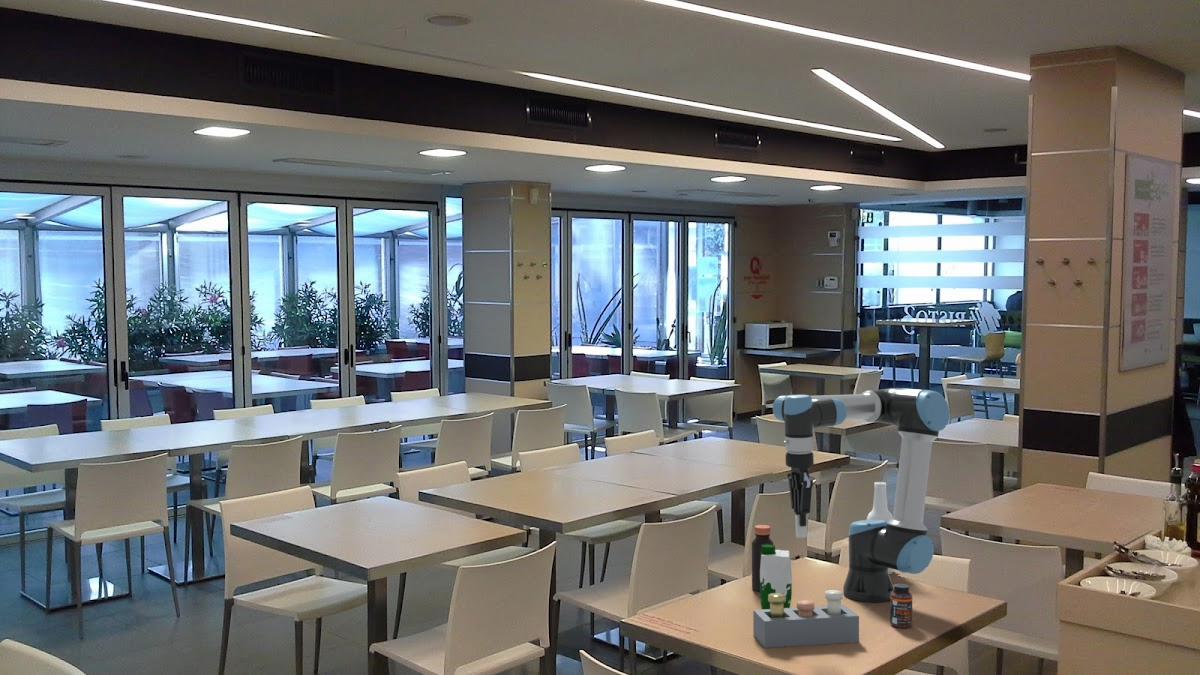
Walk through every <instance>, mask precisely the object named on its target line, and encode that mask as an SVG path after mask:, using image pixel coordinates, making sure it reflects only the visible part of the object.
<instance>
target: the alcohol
mask: <svg viewBox="0 0 1200 675" xmlns="http://www.w3.org/2000/svg"><path fill="white" fill-rule="evenodd" d="M873 484H874V486H873V487H874V492H873V504H872V510H871V511H870V512H869V513H868V515H867V516H866V520H886V521H887V522H888V521H889V520H891V519H892V518H893V514H892V513H891V512H890V511H889V507H888V496H887V495H888V494H887V483H886V482H885V481H874V483H873ZM894 570H895V569H891V568H888V573H889V575H891V574H893V573H894Z"/></svg>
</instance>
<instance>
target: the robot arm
mask: <svg viewBox="0 0 1200 675" xmlns="http://www.w3.org/2000/svg"><path fill="white" fill-rule="evenodd" d="M772 414H773V416H774V417H775V418H776V420H778V421H782V422H784V437H785V439H784V440H783V444H785V451H786V453H785V454H784V455H785V466H786V467H787V468H788V467H789V468H791V469H790V473H787V481H788V485H789V495H790V504H791V506H790V507H791V509H792V510H793V512H794V519H795V521H794V523H795V537H796V539H801V538H803V539H804V538H808V524H807V523H808V522H807V520H808V519H807V516H808V514H810V513H811V505H812V504H811V502H812V492H813V486H814V481H813V480H812V479H811V480H810V473H809V468H811V467H813V466H814V463H815V462H814V453H813V451H814V429H816V428H817V429H818V428H825V427H835V426H838V425H841V424H843V423H844V422H845V421H849V420H850V421H851V420H863V421H864V422H867V423H880V424H881V423H882V424H886V425H891V426H897V434H899V435H900V437H901V445H900V446H901V447H900V454H899V463H898V471H897V477H896V478H897V479H896V487H895V488H896V489H895V496H894V503H893V504H894V505H893V514H892V516H893V518H892V519H891V520H889V521H888V522H887V521H886V520H867V519H863V520H857V521H853V522H852V523H850V525H849V528H848V529H849V530H848V572H847V575H846V577H845V581H844V583H843V589H842V592H843V595H844V597H846V598H847V599H848V598H849V599H852V600H854V601H859V602H865V603H866V602H868V603H869V602H871V603H879V602H881V603H882V602H888V601H890V595H891V593H892V592H893V591H894V585H893V582H892V578H891V576H890V574H889V573H888V568H891V569H894V570H895V571H899V572H901V573H905V574H911V575H915V574H920V573H922V572H924V571H925V570H926V569H927V567H929V565H930V563H931V562H932V560H933V556H934V544H933V541H932V539H931V538H930V537H929V536H928V535H927V534H928V528H927V527H926V525H925V524H924V514H925V506H926V496H927V488H928V480H929V474H930V473H929V470H930V462H931V454H932V446H933V443H934V441H935V440H937V439H938V438H939V433H940V431H943V430H944V429H946V427H947V425H948V423H949V421H950V407H949V405H948V402H947V400H946V399H945V397H944V396H943V395H942V394H941V393H939V392H938V391H935V390H929V389H915V388H903V387H894V388H893V387H890V388H889V387H888V388H883V389H873V390H864V391H863V392H861V393H860V394H855V393H853V394H826V395H823V394H822V395H808V394H790V395H780V396H778V397H777V398H775V400H774V402H773V404H772Z"/></svg>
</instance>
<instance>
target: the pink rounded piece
mask: <svg viewBox="0 0 1200 675" xmlns="http://www.w3.org/2000/svg"><path fill="white" fill-rule="evenodd" d="M814 607H815V602H814V601H811V600H806V599H805V600H803V599H802V600H798V601H797V602H796V608H797V609H798V610H799V617H802V616H812V610H814Z"/></svg>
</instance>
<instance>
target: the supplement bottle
mask: <svg viewBox="0 0 1200 675" xmlns="http://www.w3.org/2000/svg"><path fill="white" fill-rule="evenodd" d="M893 588H894V591H893V592H892V593H891V595H890V600H889V623H890V625H891V626H892V627H895V628H900V629H907V628H908V629H909V628H911V627H912V625H913V595H912V593H911V592H910V586H909V585H908V584H906V583H895V584H894V585H893Z"/></svg>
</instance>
